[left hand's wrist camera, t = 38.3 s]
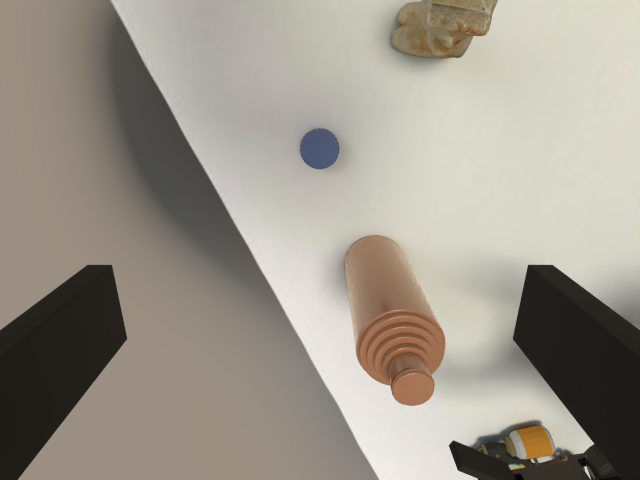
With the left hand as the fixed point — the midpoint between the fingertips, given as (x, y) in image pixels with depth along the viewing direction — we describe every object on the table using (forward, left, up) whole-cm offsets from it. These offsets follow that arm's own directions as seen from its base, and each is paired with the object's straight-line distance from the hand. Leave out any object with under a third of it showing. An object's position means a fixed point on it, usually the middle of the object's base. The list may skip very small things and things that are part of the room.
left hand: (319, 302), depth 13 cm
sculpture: (-6, +16, -37) cm, 41 cm away
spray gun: (+60, +8, -37) cm, 71 cm away
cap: (0, 0, -35) cm, 35 cm away
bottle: (+17, 0, -37) cm, 41 cm away
